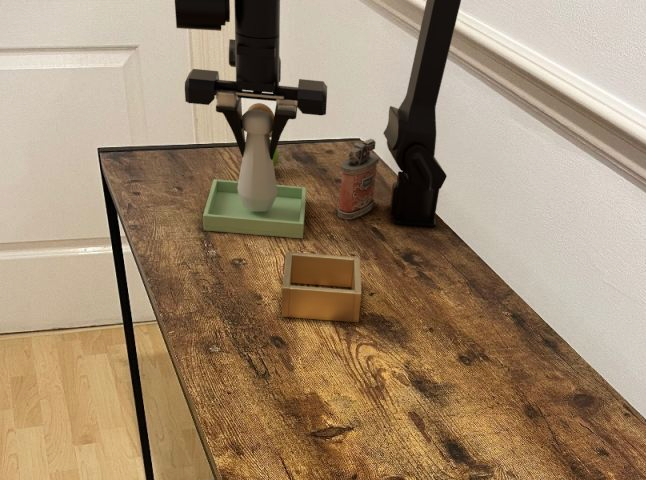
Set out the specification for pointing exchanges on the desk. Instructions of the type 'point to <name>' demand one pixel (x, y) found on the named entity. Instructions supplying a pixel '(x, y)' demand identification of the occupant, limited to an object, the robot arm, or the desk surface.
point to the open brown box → (317, 299)
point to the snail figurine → (265, 108)
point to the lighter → (358, 180)
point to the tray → (232, 216)
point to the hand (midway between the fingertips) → (257, 157)
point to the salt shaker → (257, 163)
